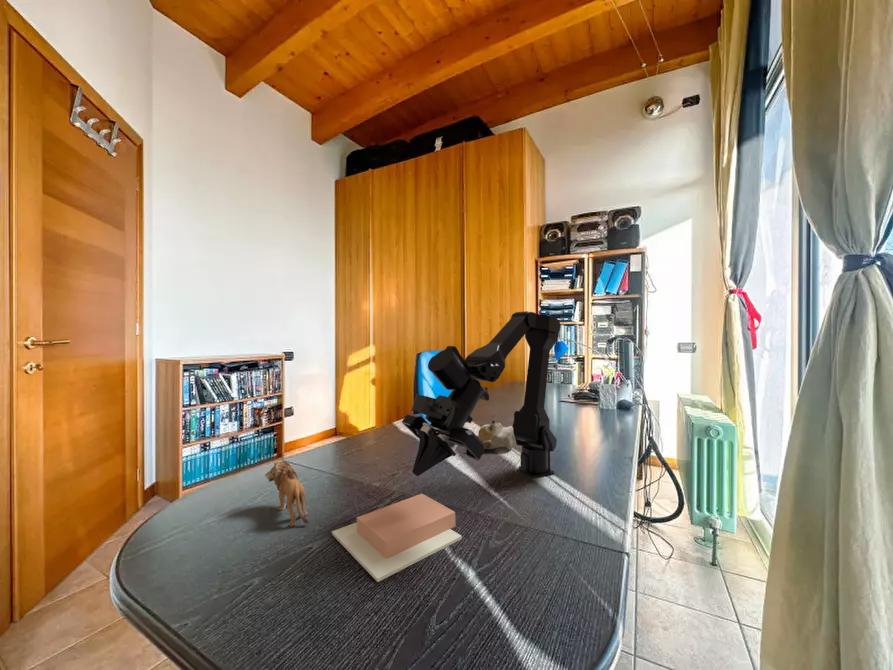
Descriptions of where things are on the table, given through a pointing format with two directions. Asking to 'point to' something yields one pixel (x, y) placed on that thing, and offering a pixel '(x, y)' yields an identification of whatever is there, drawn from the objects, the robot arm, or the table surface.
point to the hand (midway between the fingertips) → (414, 474)
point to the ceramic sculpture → (496, 436)
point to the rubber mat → (387, 567)
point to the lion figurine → (288, 489)
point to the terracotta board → (405, 524)
